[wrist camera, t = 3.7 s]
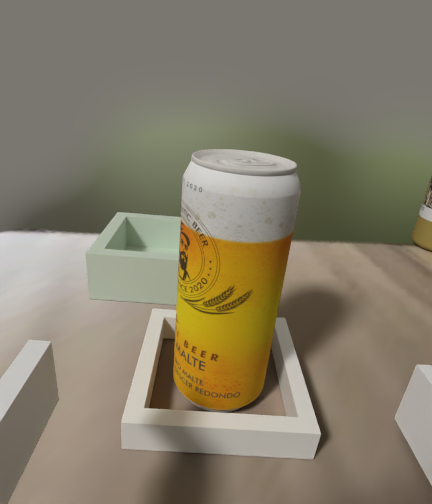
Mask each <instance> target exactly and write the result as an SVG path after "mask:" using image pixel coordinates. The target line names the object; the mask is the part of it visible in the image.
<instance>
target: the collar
mask: <svg viewBox="0 0 432 504" xmlns="http://www.w3.org/2000/svg"><path fill="white" fill-rule="evenodd" d="M175 327H176V310H167V309H153V310H152V313H151V317H150V320H149V324H148V328H147V331H146V335H145V338H144V342H143V345H142V349H141V353H140V356H139V360H138V363H137V367H136V371H135V374H134V378H133V381H132V385H131V389H130V392H129V396H128V399H127V403H126V407H125V410H124V414H123V417H122V421H121V437H122V449H134V450H153V451H171V452H189V453H208V454H226V455H244V456H262V457H281V458H299V459H314V456H315V453H316V449H317V446H318V443H319V439H320V436H321V432H320V429H319V426H318V423H317V419H316V416H315V413H314V410H313V406H312V403H311V400H310V397H309V393H308V390H307V387H306V384H305V380H304V377H303V374H302V371H301V368H300V364H299V361H298V358H297V355H296V351H295V348H294V345H293V342H292V338H291V335H290V332H289V329H288V325H287V322H286V319H285V318H280V317H277V318H276V323H275V329H274V334H273V339H272V344H271V349H272V353H273V358H274V362H275V367H276V371H277V376H278V381H279V385H280V390H281V394H282V399H283V403H284V408H285V412H286V416H270V415H253V414H236V413H219V412H202V411H186V410H169V409H152V408H149V406H150V401H151V396H152V391H153V386H154V381H155V376H156V371H157V366H158V361H159V357H160V352H161V347H162V342H163V338H170V339H175Z"/></svg>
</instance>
